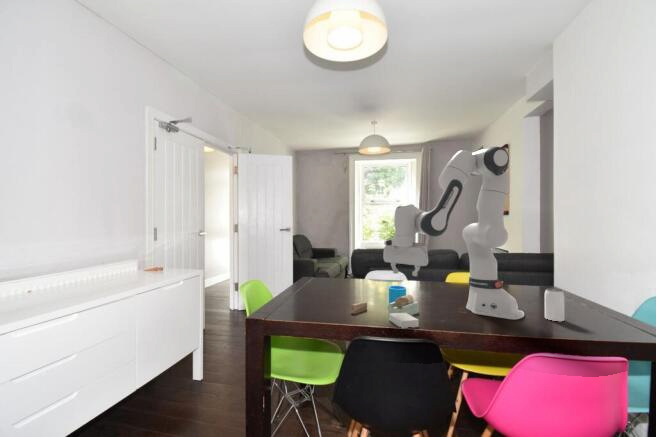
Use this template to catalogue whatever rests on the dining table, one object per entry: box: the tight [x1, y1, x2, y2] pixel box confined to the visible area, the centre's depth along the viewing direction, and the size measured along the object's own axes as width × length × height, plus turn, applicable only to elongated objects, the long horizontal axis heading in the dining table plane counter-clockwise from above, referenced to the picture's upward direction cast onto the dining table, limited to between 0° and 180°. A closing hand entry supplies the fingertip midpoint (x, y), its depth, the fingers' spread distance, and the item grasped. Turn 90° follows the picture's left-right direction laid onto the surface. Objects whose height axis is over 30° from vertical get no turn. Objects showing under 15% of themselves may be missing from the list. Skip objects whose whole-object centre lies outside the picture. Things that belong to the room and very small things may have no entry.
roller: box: [395, 294, 415, 308], centre depth 133 cm, size 4×8×4 cm, turn 134°
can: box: [544, 288, 565, 323], centre depth 125 cm, size 6×6×12 cm
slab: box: [388, 312, 420, 329], centre depth 120 cm, size 10×7×3 cm
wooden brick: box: [351, 300, 368, 315], centre depth 135 cm, size 2×8×4 cm, turn 134°
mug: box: [388, 285, 407, 304], centre depth 149 cm, size 12×8×8 cm
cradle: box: [387, 301, 420, 317], centre depth 133 cm, size 8×11×4 cm
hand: (405, 274), depth 132 cm, fingers open, 8 cm apart
